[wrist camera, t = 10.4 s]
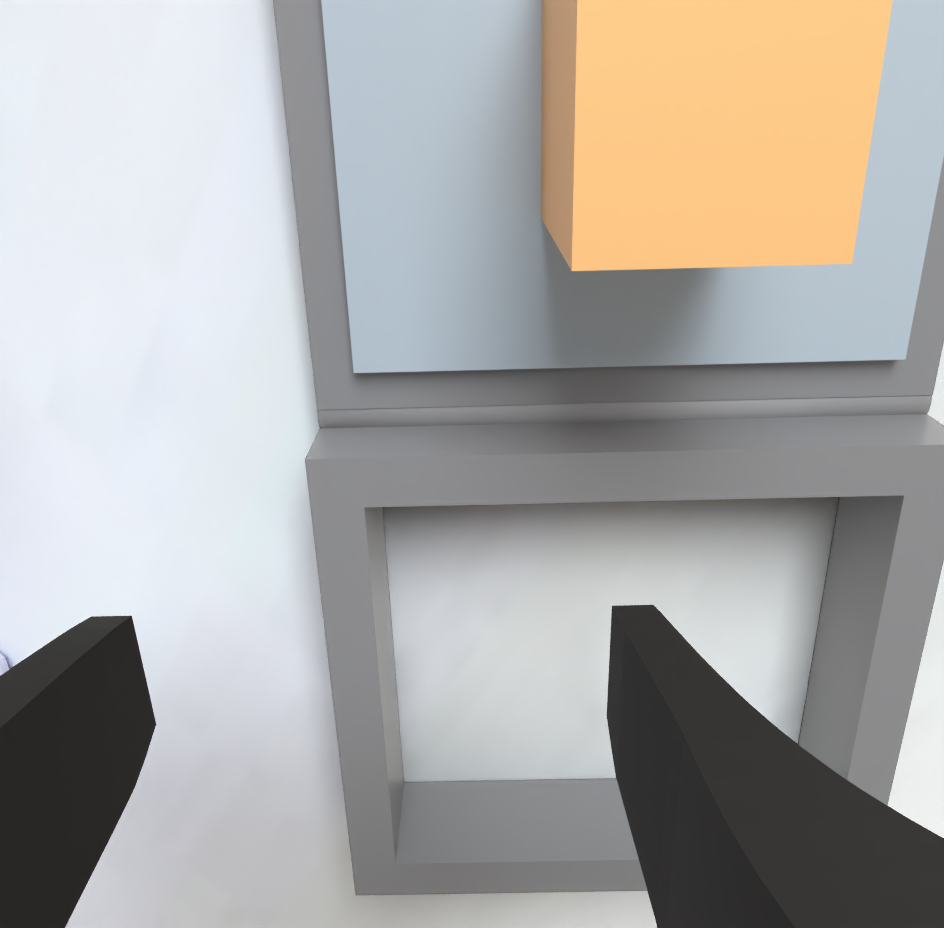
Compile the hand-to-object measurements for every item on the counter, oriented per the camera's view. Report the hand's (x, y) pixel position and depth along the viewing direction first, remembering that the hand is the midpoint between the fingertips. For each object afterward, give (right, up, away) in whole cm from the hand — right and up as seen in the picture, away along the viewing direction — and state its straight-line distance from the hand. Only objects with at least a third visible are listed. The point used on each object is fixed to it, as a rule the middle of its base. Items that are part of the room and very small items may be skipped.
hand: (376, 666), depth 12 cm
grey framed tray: (+5, +5, +8) cm, 11 cm away
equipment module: (+5, +11, +4) cm, 12 cm away
